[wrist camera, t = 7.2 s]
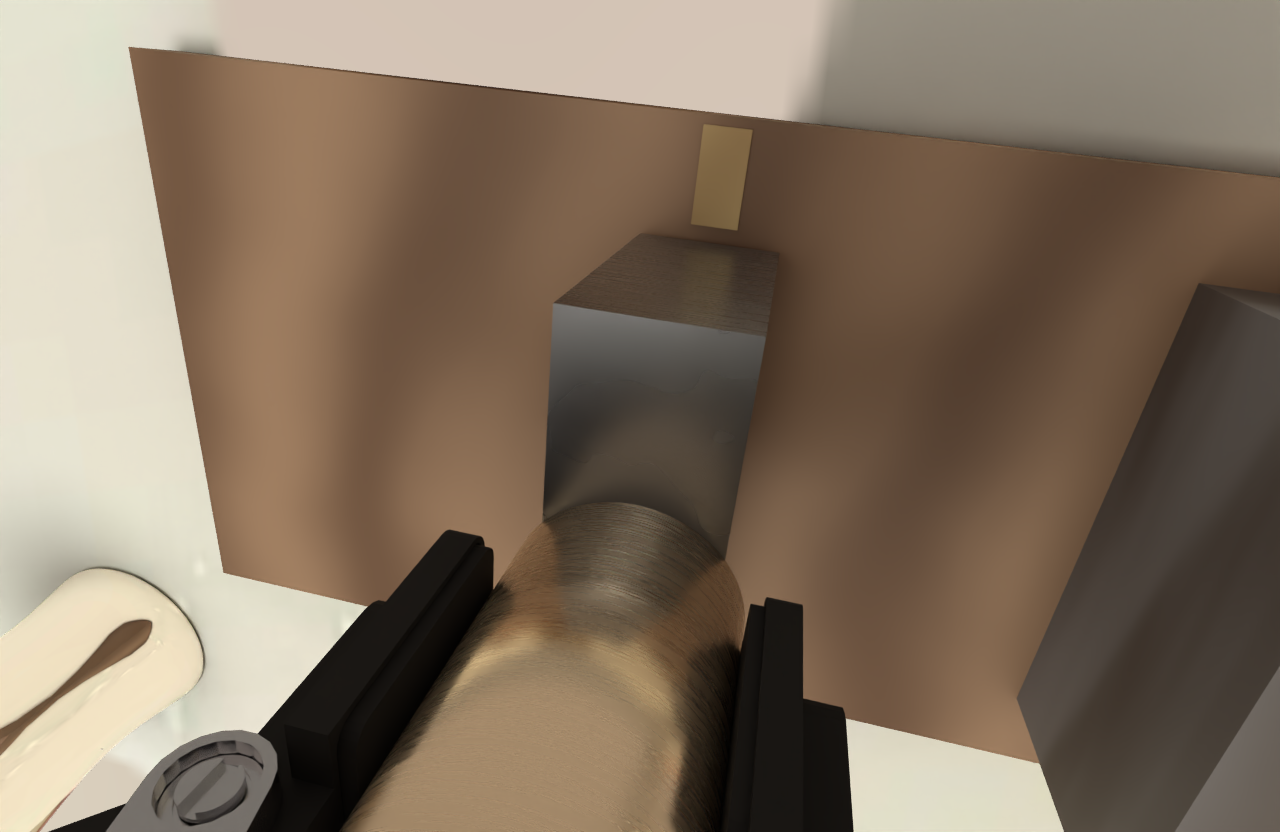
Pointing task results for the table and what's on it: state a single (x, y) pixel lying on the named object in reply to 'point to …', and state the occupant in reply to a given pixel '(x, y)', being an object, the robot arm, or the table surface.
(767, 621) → the robot arm
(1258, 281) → the base
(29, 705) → the beer glass
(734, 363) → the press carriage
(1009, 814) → the table surface
